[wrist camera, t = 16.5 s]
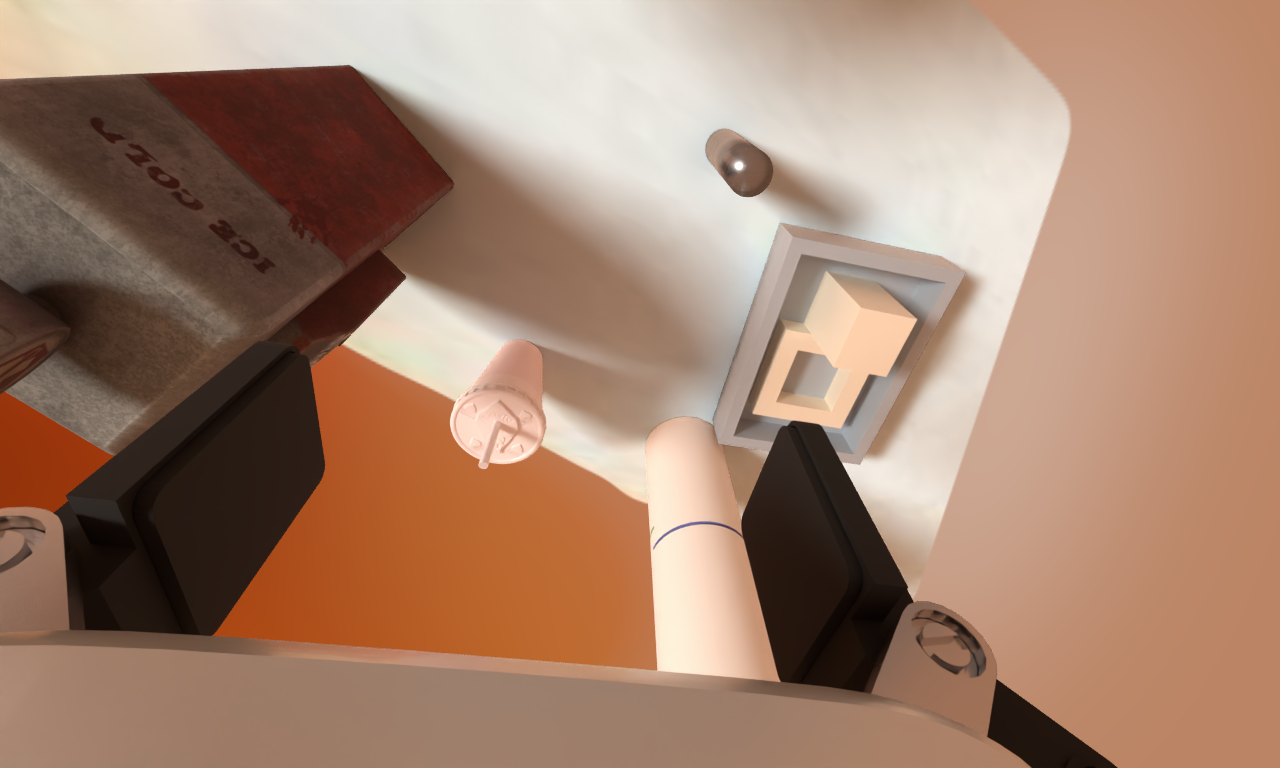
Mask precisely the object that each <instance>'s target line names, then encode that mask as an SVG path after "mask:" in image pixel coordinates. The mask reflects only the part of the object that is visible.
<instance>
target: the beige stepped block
mask: <svg viewBox="0 0 1280 768" xmlns="http://www.w3.org/2000/svg"><path fill="white" fill-rule="evenodd" d="M916 321H917V319H916V318H915V317H914V316H913V315H912V314H911V313H910V312H909V311H908V310H906V309H905V308H904V307H903V306H902V305H901V304H900V303H899V302H898V301H896V300H895V299H894V298H893V297H892V296H891V295H890V294H889V293H888V292H886V291H885V290H884V289H883V288H882V287H881V286H880V285H879V284H878V283H876V282H875V281H874V280H869V279H865V278H860V277H855V276H850V275H846V274H841V273H836V272H832V271H827V270H826V271H825V273H824V276H823V278H822V281H821V283H820V285H819V288H818V290H817V293H816V295H815V297H814V300H813V302H812V305H811V307H810V309H809V312H808V314H807V316H806V319H805V321H804V323H800V322H795V321H790V320H785V319H780V320H779V323H778V325H777V328H776V331H775V333H774V336H773V338H772V341H771V343H770V346H769V348H768V351H767V354H766V356H765V359H764V361H763V364H762V366H761V369H760V371H759V374H758V377H757V379H756V382H755V384H754V387H753V389H752V392H751V394H750V397H749V400H748V402H749V405H750V407H751V410H752V413H753V414H757V415H763V416H769V417H775V418H780V419H786V420H792V421H794V420H795V421H802V422H809V423H816V424H819V425H822V426H828V427H834V428H840V429H841V427H842V425H843V423H844V422H845V420H846V418H847V416H848V414H849V412H850V410H851V408H852V406H853V404H854V402H855V400H856V398H857V397H858V395H859V393H860V391H861V389H862V387H863V385H864V383H865V381H866V379H867V377H868V375H869V374H873V375H878V376H883V377H887V375H888V373H889V371H890V369H891V367H892V366H893V364H894V362H895V360H896V358H897V356H898V354H899V353H900V351H901V349H902V347H903V345H904V343H905V341H906V340H907V338H908V336H909V334H910V332H911V330H912V329H913V327H914V325H915V323H916ZM798 350H800V351H805V352H810V353H815V354H821V355H825V356H826V357H827V359H828V360H829V362H830V363H831V365H832V366H833V367H835V368H839V369H838V371H837V373H836V375H835V377H834V379H833V381H832V383H831V385H830V387H829V389H828V391H827V393H826V396H825V398H824V399H823V398H817V397H811V396H805V395H800V394H794V393H788V392H783V391H781V389H782V387H783V384H784V382H785V380H786V377H787V375H788V372H789V370H790V368H791V365H792V363H793V361H794V358H795V356H796V354H797V351H798Z"/></svg>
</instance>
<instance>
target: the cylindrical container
mask: <svg viewBox="0 0 1280 768" xmlns="http://www.w3.org/2000/svg"><path fill="white" fill-rule="evenodd" d="M645 456H646V473H647V490H648V507H649V524H650V541H651V560H652V576H653V577H652V578H653V596H654V613H655V632H656V650H657V667H658V668H657V669H658V671H666V672H678V673H690V674H701V675H713V676H725V677H736V678H747V679H756V680H766V681H776V682H781V681H780V680H779V677H778V674H777V670H776V666H775V662H774V658H773V654H772V650H771V646H770V642H769V638H768V634H767V630H766V626H765V622H764V618H763V614H762V610H761V606H760V602H759V599H758V595H757V591H756V587H755V583H754V579H753V575H752V571H751V567H750V563H749V559H748V555H747V551H746V547H745V543H744V539H743V535H742V530H741V518H740V514H739V510H738V506H737V502H736V498H735V494H734V490H733V486H732V482H731V478H730V474H729V471H728V467H727V463H726V459H725V455H724V451H723V447H722V444H718V440H717V436H716V432H715V428H714V427H713V426H711V425H710V424H709V423H707V422H705V421H703V420H701V419H698V418H693V417H679V418H674V419H670V420H667V421H665V422H663V423H661V424H660V425H659V426H657V427H656V428H655V429H654V430H653V431H652V432H651V433H650V435H649V437H648V438H647V441H646V445H645Z"/></svg>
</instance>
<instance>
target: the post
mask: <svg viewBox="0 0 1280 768" xmlns="http://www.w3.org/2000/svg"><path fill="white" fill-rule="evenodd" d="M705 151H706V156H707V158H708V160H709V161H710V163H711V164H712V165H713V166H714V168H715V169H716V170H717V171H718V173H719V174H720V175H721V176H722V177H723V179H724V180H725V181H726V182H727V184H728V185H729V186H730V187H731V189H732V190H733V191H734V192H735V193H736V194H738V195H740V196H743V197H753V196H756V195H758V194H760V193H761V192H763V191H764V190H765V189H766V188H767V186H768V185H769V183H770V181H771V179H772V175H773V166H772V162H771V160H770V158H769V157H768V156H767V155H766V154H765V153H764V152H762V151H761V150H759V149H758V148H757V147H755V146H754V145H752V144H751V143H749V142H748V141H746V140H745V139H744V138H742V137H741V136H739V135H738V134H736V133H735V132H734V131H732V130H729V129H720V130H717V131H715V132H714V133H713V134H712V135H711V136H710V137H709V139H708V140H707V143H706V148H705Z"/></svg>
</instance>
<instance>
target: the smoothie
mask: <svg viewBox="0 0 1280 768" xmlns="http://www.w3.org/2000/svg"><path fill="white" fill-rule="evenodd" d="M542 387H543V358H542V354H541V352H540V351H539V349H538V348H537V347H536V346H535V345H533V344H532V343H530V342H528V341H524V340H512V341H509V342H507V343H505V344H504V345H503V346H502V347H501V349H500V350H499V351H498V353H497V354H496V355H495V357H494V358H493V359H492V361H491V362H490V364H489V365H488V366H487V368H486V369H485V370H484V372H483V373H482V374H481V376H480V377H479V378H478V380H477V381H476V382H475V384H474V385H473V386H472V388H470V389H468V390H466V391H465V392H464V393H463V394H462V395H461V396H460V397H459V398H458V400H457V401H456V403H455V405H454V409H453V412H452V414H451V419H450V426H451V431H452V434H453V436H454V438H455V440H456V441H457V443H458V444H459V445H460V446H461V447H462V448H463V449H464V450H465V451H466V452H467V453H469V454H470V455H472V456H474V457H476V458H478V459H480V462H479V467H480V468H482V469H486V468H487V467H488V464H489V462H490V463H495V464H509V463H515V462H519V461H522V460H524V459H526V458H528V457H530V456H531V455H532V454H533V453H535V452H536V451H537V449H538V448H539V446H540V445H541V443H542V440H543V437H544V434H545V430H546V417H545V414H544V412H543V409H542Z"/></svg>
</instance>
